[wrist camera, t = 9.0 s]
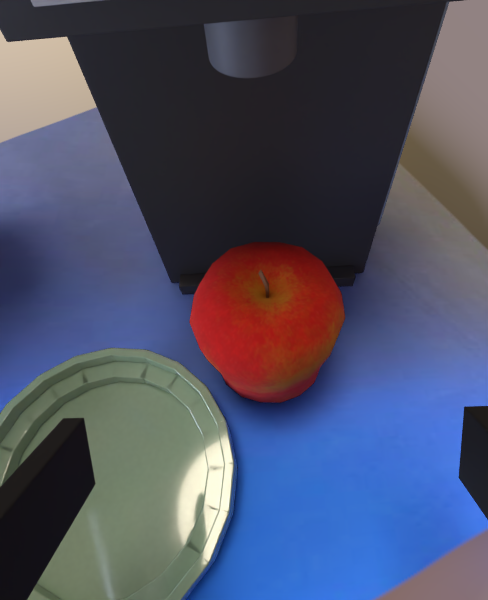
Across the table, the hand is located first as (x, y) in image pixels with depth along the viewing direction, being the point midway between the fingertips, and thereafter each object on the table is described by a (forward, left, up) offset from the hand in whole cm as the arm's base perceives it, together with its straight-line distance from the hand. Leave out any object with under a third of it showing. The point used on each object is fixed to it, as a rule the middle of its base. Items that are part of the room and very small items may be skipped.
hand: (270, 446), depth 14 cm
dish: (-9, +6, -13) cm, 17 cm away
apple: (+4, +7, -14) cm, 16 cm away
